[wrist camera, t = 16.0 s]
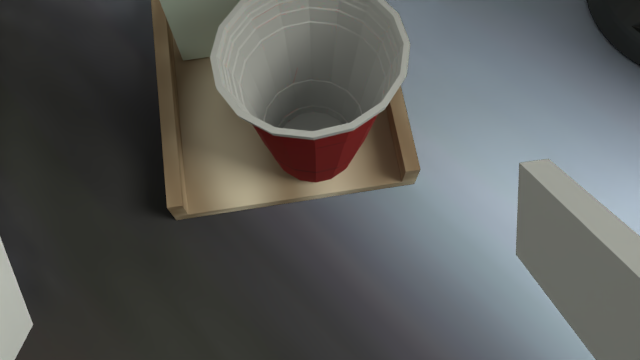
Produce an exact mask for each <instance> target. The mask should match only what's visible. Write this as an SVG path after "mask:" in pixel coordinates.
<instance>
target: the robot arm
mask: <svg viewBox="0 0 640 360" xmlns="http://www.w3.org/2000/svg"><path fill="white" fill-rule="evenodd" d="M587 1H588V6H589V9H590V12H591V14H592V16H593V18H594V20H595V22H596V24H597V26H598V27H599V29H600V30H601V32H602V33H603V34H604V36H605V37H606V38H607V39H608V40H609V41H610V43H611V44H612V45H613V46H614V47H615V48H617V49H618V50H619V51H620V52H621V53H622V54H624V55H625V56H626V57H628V58H629V59H631V60H632V61H634V62H635V63H637V64H639V65H640V0H587ZM516 255H517V256H518V258H519V259H520V260H521V262H522V263H523V264H524V266H525V267H526V268H527V270H528V271H529V272H530V274H531V275H532V276H533V278H534V279H535V280H536V281H537V283H538V284H539V285H540V287H541V288H542V289H543V291H544V292H545V293H546V295H547V296H548V297H549V299H550V300H551V301H552V303H553V304H554V305H555V306H556V308H557V309H558V310H559V312H560V313H561V314H562V316H563V317H564V318H565V320H566V321H567V322H568V324H569V325H570V326H571V328H572V329H573V330H574V332H575V333H576V334H577V335H578V337H579V338H580V339H581V341H582V342H583V343H584V345H585V346H586V347H587V349H588V350H589V351H590V353H591V354H592V355H593V357H594V358H595V359H596V360H640V236H639V235H638V234H636V233H635V232H634V231H633V230H632V229H631V228H629V227H628V226H627V225H626V224H625V223H624V222H622V221H621V220H620V219H619V218H618V217H616V216H615V215H614V214H613V213H612V212H611V211H609V210H608V209H607V208H606V207H605V206H604V205H602V204H601V203H600V202H599V201H598V200H596V199H595V198H594V197H593V196H592V195H591V194H589V193H588V192H587V191H586V190H585V189H583V188H582V187H581V186H580V185H579V184H578V183H576V182H575V181H574V180H573V179H572V178H571V177H569V176H568V175H567V174H566V173H565V172H563V171H562V170H561V169H560V168H559V167H558V166H556V165H555V164H554V163H553V162H552V161H550V160H549V159H543V160H536V161H529V162H521V163H519V186H518V213H517V239H516ZM32 326H33V323H32V321H31V318H30V315H29V313H28V310H27V307H26V305H25V302H24V299H23V297H22V294H21V291H20V289H19V286H18V283H17V281H16V278H15V275H14V273H13V270H12V267H11V265H10V262H9V259H8V257H7V254H6V251H5V249H4V246H3V243H2V241H1V238H0V360H15V358H16V356H17V354H18V352H19V350H20V348H21V347H22V345H23V343H24V341H25V339H26V337H27V335H28V333H29V331H30V330H31V328H32Z"/></svg>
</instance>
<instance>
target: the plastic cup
mask: <svg viewBox="0 0 640 360" xmlns="http://www.w3.org/2000/svg"><path fill="white" fill-rule="evenodd" d="M409 51H410V41H409V39H408V36H407V33H406V31H405V28H404V26H403V23H402V21H401V18H400V15H399V13H398V12H396V11H395V10H394V9H393V8H392V7H391V6H390V5H389V4H388V3H387V2H386V1H385V0H240V1H239V3H238V4H237V5H236V6H235V7H234V9H233V10H232V11H231V12H230V13H229V15H228V16H227V17H226V18H225V19H224V21H223V22H222V23H221V24H220V25H219V27H218V31H217V34H216V38H215V41H214V45H213V48H212V52H211V55H210V60H211V65H212V70H213V75H214V80H215V85H216V89H217V90H218V92H219V93H220V94H221V95H222V97H223V98H224V99H225V100H226V102H227V103H228V104H229V105H230V107H231V108H232V109H233V110H234V112H235V113H236V114H237V115H238V116H239V117H240V118H241V119H243V120H245V121H247V122H249V123H250V124H252V125H253V126H254V128H255V130H256V131H257V133H258V134H259V136H260V138H261V139H262V141H263V142H264V144H265V145H266V147H267V148H268V149H269V151H270V152H271V153H272V155H273V157H274V158H275V160H276V161H277V162H278V164H279V165H280V166H281V168H282V169H283V170H284V171H285V172H287V173H288V174H290V175H292V176H293V177H295V178H297V179H299V180H301V181H308V182H315V183H316V182H321V181H325V180H329V179H332V178H334V177H335V176H336V175H338V174H339V173H341V172H342V171H344V170H345V169H346V168H347V167H348V165H349V164H350V162H351V161H352V159H353V158H354V156H355V154H356V153H357V151H358V150H359V148H360V147H361V145H362V144H363V142H364V140H365V138H366V137H367V135H368V133H369V131H370V129H371V127H372V125H373V123H374V121H375V119H376V117H377V115H378V114H379V113H380V112H382V111H383V110H385V108H386V107H387V105H388V104H389V102H390V101H391V99H392V98H393V96H394V95H395V93H396V92H397V90H398V89H399V87H400V85H401V84H402V82H403V81H404V79H405V78H406V76H407V68H408V60H409Z"/></svg>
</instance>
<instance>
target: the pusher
mask: <svg viewBox="0 0 640 360" xmlns="http://www.w3.org/2000/svg"><path fill="white" fill-rule="evenodd" d="M159 1H160V3H161V6H162V8H163V11H164V13H165V16H166V18H167V21H168V23H169V26H170V29H171V31H172V34H173V36H174V39H175V41H176V44H177V46H178V49H179V51H180V54H181V57H182V59H183V61H184V60H191V59H198V58H205V57H210V55H211V52H212V48H213V45H214V41H215V38H216V34H217V31H218V27H219V25H220V24H221V23H222V22H223V21H224V19H225V18H226V17H227V16H228V15H229V13H230V12H231V11H232V10H233V9H234V7H235V6H236V5H237V4H238V3H239V1H240V0H159Z"/></svg>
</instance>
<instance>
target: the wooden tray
mask: <svg viewBox="0 0 640 360" xmlns="http://www.w3.org/2000/svg"><path fill="white" fill-rule="evenodd" d="M151 7H152V20H153V33H154V46H155V59H156V72H157V85H158V98H159V111H160V124H161V137H162V150H163V163H164V176H165V189H166V202H167V209H168V210H169V211H170V212H171V214H172V215H173V216H174V218H175V219H176V220H181V219H187V218H194V217H200V216H207V215H213V214H220V213H227V212H233V211H240V210H246V209H253V208H259V207H266V206H272V205H279V204H285V203H292V202H299V201H305V200H312V199H318V198H325V197H331V196H338V195H344V194H351V193H357V192H364V191H371V190H377V189H384V188H390V187H397V186H403V185H410V184H414V183H415V181H416V179H417V176H418V174H419V172H420V166H419V161H418V157H417V153H416V149H415V145H414V140H413V136H412V132H411V128H410V123H409V119H408V115H407V111H406V106H405V102H404V98H403V94H402V89H401V85H400V87H399V89H398V90H397V92H396V93H395V95H394V96H393V98H392V99H391V101H390V102H389V104H388V105H387V107H386V108H385V110H383V111H382V112H380V113H379V114H378V115H377V117H376V119H375V121H374V123H373V125H372V127H371V129H370V131H369V133H368V135H367V137H366V138H365V140H364V142H363V144H362V145H361V147H360V148H359V150H358V151H357V153H356V154H355V156H354V158H353V159H352V161H351V162H350V164H349V165H348V167H347V168H346V169H345V170H344V171H342V172H341V173H339V174H338V175H336V176H335V177H334V178H332V179H329V180H325V181H321V182H316V183H315V182H308V181H301V180H299V179H297V178H295V177H293V176H292V175H290V174H288V173H287V172H285V171H284V170H283V169H282V168H281V166H280V165H279V164H278V162H277V161H276V160H275V158H274V157H273V155H272V153H271V152H270V151H269V149H268V148H267V147H266V145H265V144H264V142H263V141H262V139H261V138H260V136H259V134H258V133H257V131H256V130H255V128H254V126H253V125H252V124H250V123H249V122H247V121H245V120H243V119H241V118H240V117H239V116H238V115H237V114H236V113H235V112H234V110H233V109H232V108H231V107H230V105H229V104H228V103H227V102H226V100H225V99H224V98H223V97H222V95H221V94H220V93H219V92H218V90H217V89H216V85H215V80H214V75H213V70H212V65H211V60H210V57H205V58H198V59H191V60H184V61H183V59H182V57H181V54H180V51H179V49H178V46H177V44H176V41H175V39H174V36H173V34H172V31H171V29H170V26H169V23H168V21H167V18H166V16H165V13H164V11H163V8H162V6H161V3H160V1H159V0H151Z"/></svg>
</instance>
